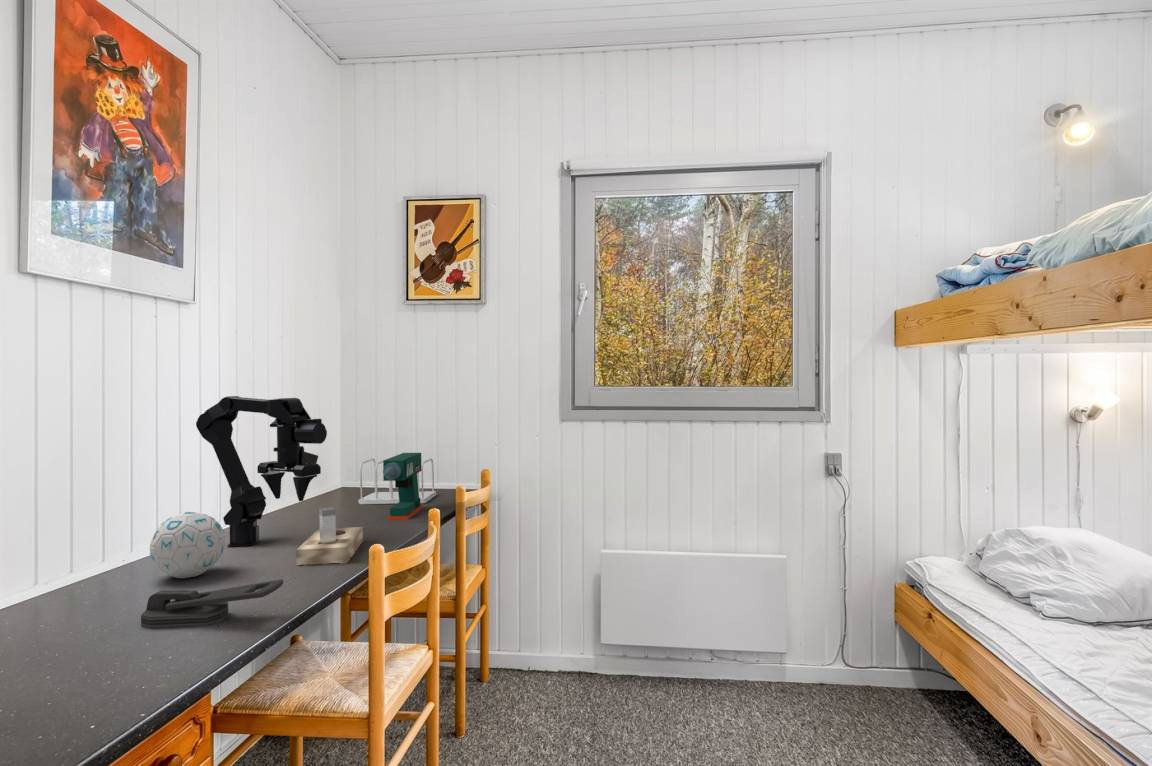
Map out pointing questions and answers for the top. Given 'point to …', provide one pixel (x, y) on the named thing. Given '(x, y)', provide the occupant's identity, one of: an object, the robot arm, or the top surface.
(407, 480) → the power tool
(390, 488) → the file sorter
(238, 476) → the robot arm
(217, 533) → the puzzle ball
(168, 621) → the zipper pull
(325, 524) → the square bit
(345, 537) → the bore board
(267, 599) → the top surface
